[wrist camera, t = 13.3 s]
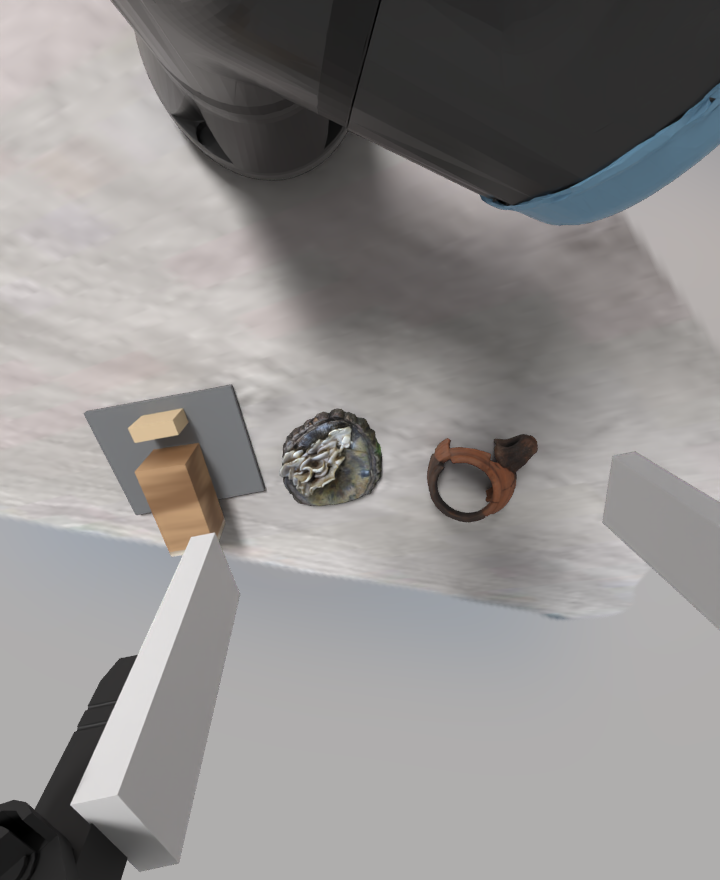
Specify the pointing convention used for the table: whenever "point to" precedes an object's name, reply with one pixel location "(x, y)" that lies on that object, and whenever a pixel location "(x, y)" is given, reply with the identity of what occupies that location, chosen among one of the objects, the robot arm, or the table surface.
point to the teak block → (180, 495)
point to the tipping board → (179, 439)
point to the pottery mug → (501, 474)
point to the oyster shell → (331, 459)
